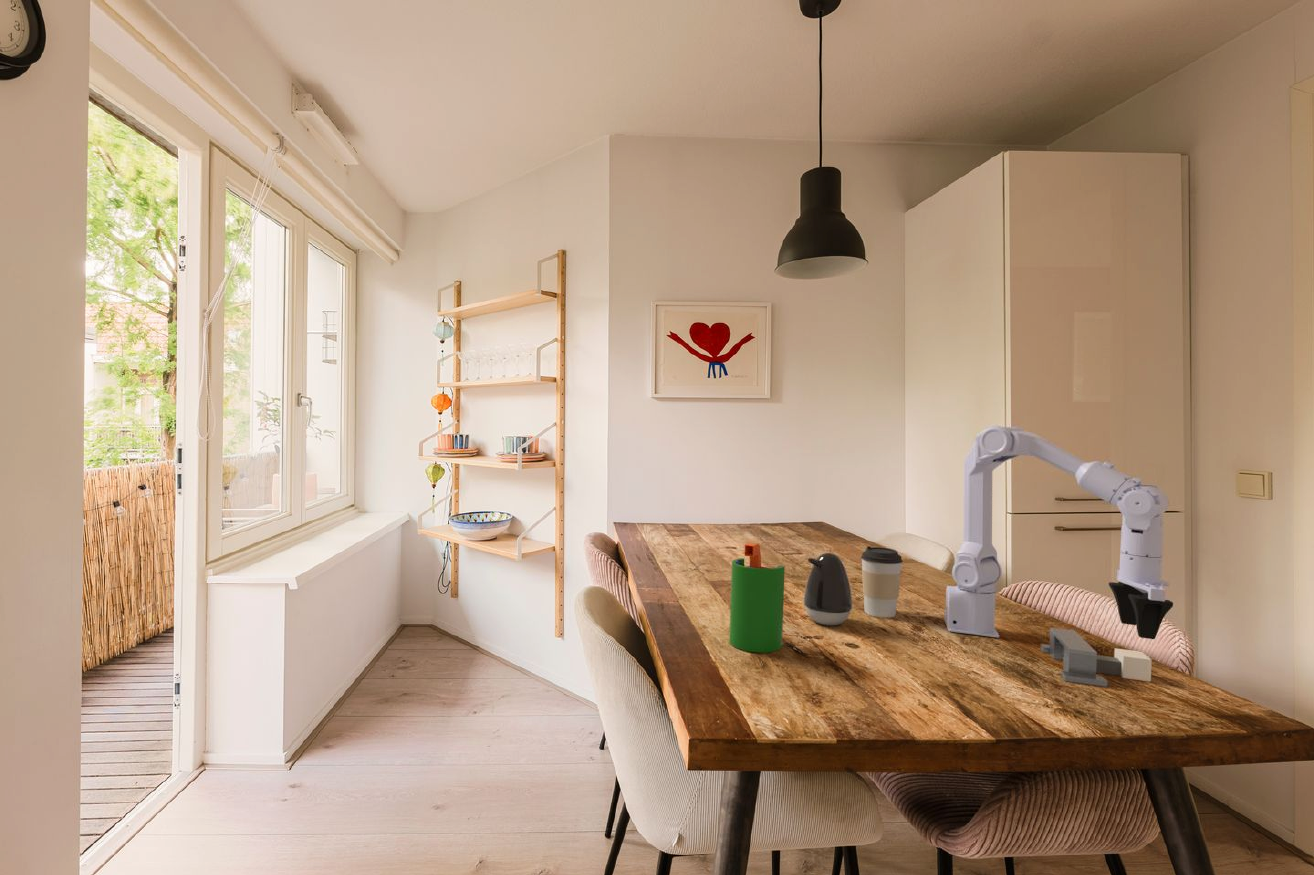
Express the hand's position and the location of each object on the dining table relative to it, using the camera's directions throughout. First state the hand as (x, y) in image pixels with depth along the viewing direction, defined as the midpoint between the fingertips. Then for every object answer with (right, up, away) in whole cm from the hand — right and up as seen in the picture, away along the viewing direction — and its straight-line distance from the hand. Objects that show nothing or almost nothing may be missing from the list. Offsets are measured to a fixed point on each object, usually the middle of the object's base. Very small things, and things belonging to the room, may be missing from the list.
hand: (1137, 630), depth 104 cm
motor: (-66, -6, +11) cm, 67 cm away
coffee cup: (-33, -7, +33) cm, 47 cm away
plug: (-3, -8, +1) cm, 8 cm away
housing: (-9, -8, +3) cm, 12 cm away
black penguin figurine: (-48, -7, +25) cm, 54 cm away
